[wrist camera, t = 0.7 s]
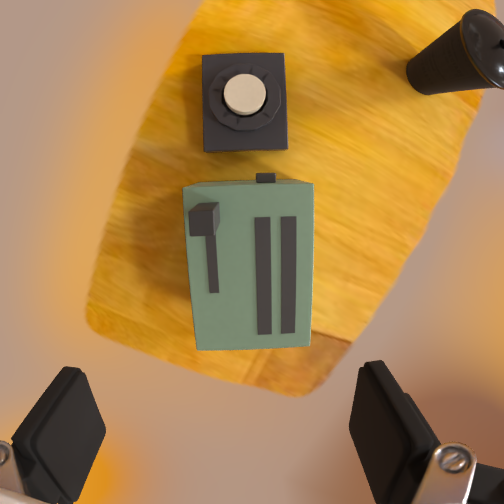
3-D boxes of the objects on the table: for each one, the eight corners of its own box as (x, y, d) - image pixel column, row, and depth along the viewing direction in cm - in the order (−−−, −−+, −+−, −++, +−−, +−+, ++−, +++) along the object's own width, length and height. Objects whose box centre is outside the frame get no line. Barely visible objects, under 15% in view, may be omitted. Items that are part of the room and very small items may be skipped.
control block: (204, 62, 29) (200, 49, 25) (281, 60, 29) (286, 47, 26) (206, 152, 32) (201, 150, 28) (285, 150, 32) (290, 148, 28)
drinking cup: (384, 75, 30) (501, 14, 11) (411, 36, 28) (517, -29, 9) (432, 119, 31) (563, 101, 12) (455, 78, 30) (573, 46, 10)
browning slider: (198, 202, 24) (187, 211, 19) (219, 201, 24) (213, 210, 19) (199, 223, 25) (189, 237, 20) (220, 222, 25) (215, 235, 20)
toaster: (197, 174, 32) (181, 177, 24) (295, 171, 33) (314, 173, 24) (206, 308, 36) (196, 351, 27) (295, 305, 36) (310, 346, 28)
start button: (224, 79, 27) (223, 74, 25) (263, 78, 27) (265, 73, 25) (225, 115, 28) (224, 112, 26) (265, 114, 28) (266, 111, 26)
